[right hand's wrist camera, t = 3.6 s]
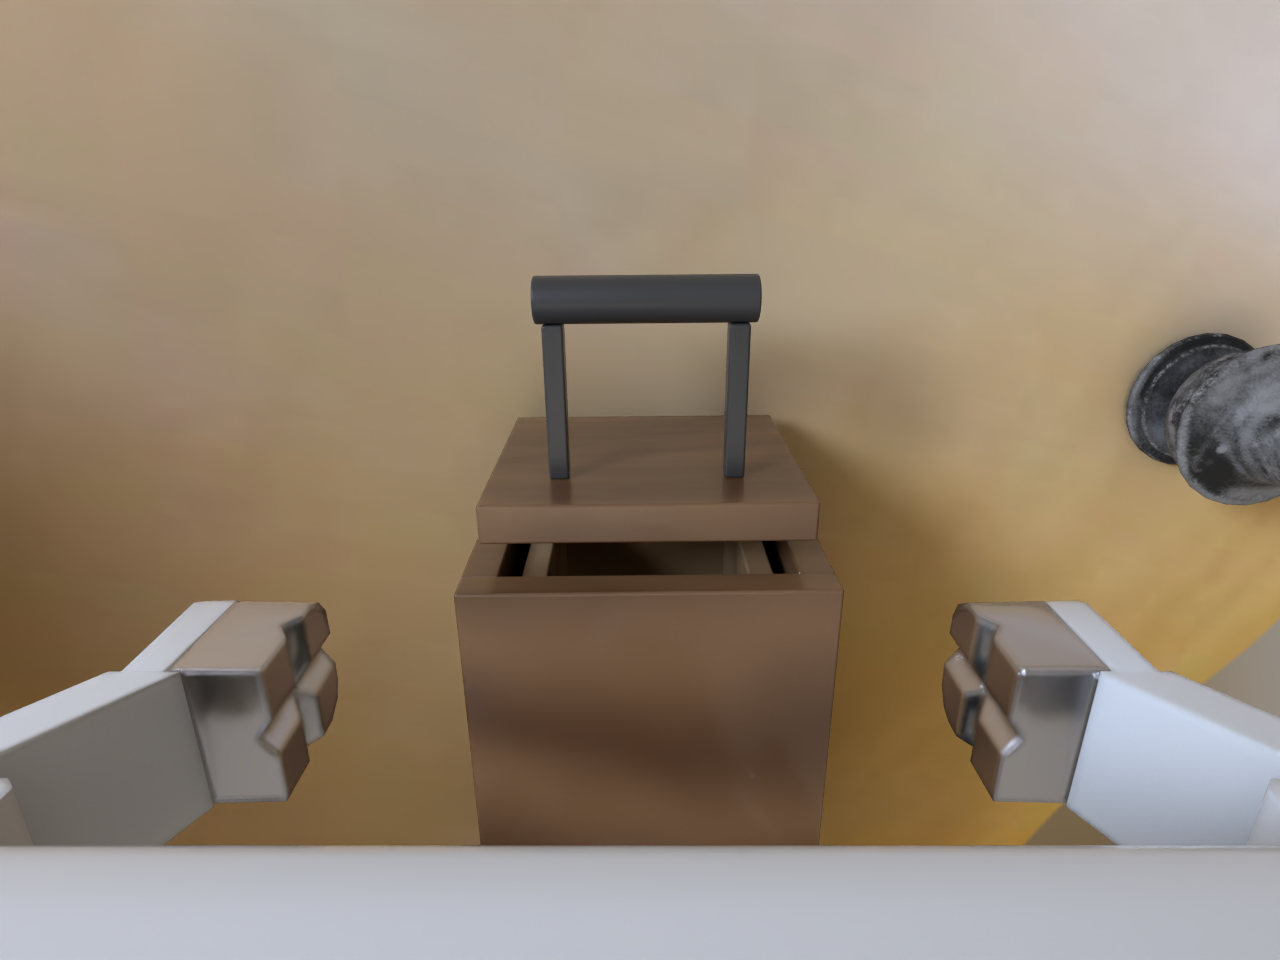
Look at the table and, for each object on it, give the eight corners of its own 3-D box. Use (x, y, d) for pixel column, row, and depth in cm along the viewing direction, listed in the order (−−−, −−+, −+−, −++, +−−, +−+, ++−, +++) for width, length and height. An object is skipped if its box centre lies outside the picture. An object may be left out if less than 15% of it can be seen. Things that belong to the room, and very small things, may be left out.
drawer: (506, 254, 28) (454, 287, 20) (779, 252, 28) (839, 283, 20) (543, 808, 37) (519, 985, 29) (748, 805, 37) (781, 981, 29)
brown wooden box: (509, 461, 31) (452, 594, 22) (778, 459, 32) (845, 589, 22) (537, 848, 39) (505, 1078, 29) (754, 846, 39) (796, 1074, 29)
